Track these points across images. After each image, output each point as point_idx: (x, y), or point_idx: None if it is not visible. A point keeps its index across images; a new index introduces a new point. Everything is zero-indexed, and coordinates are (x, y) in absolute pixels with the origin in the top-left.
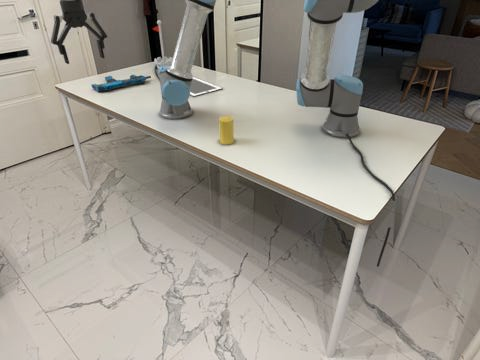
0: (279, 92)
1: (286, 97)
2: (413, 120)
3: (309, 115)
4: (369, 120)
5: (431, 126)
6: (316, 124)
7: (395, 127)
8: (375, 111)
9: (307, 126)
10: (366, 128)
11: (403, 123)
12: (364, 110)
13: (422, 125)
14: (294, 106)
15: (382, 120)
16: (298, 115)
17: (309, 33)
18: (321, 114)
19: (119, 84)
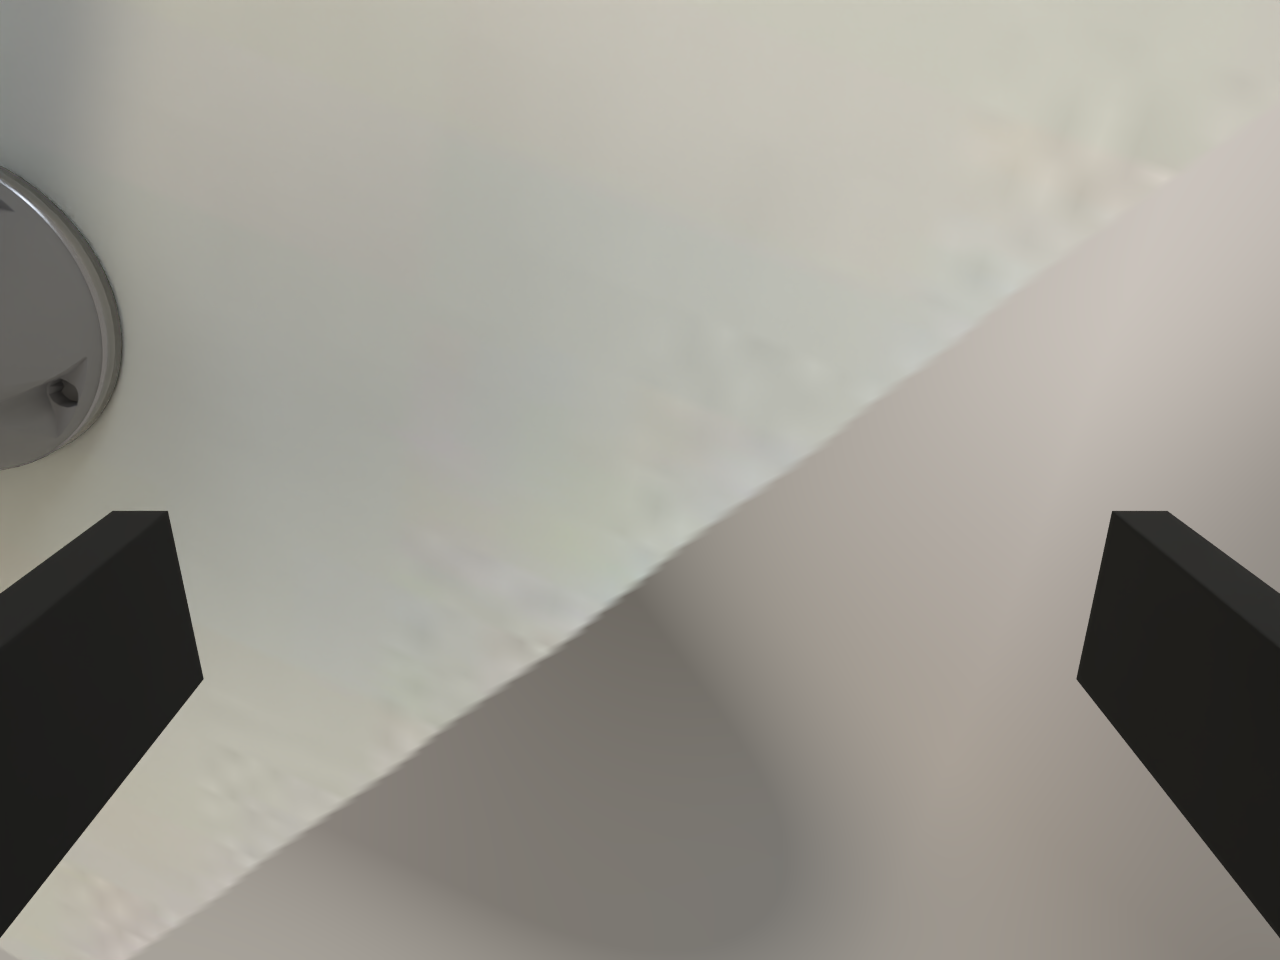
0: (1148, 34)
1: (940, 71)
2: (194, 910)
3: (341, 152)
4: (198, 637)
5: (89, 953)
6: (102, 137)
7: None
8: (388, 763)
9: (47, 17)
10: (29, 543)
11: (138, 829)
12: (419, 696)
13: (104, 916)
14: (624, 71)
15: (197, 726)
16: (350, 22)
17: (1203, 563)
18: (359, 289)
19: None
